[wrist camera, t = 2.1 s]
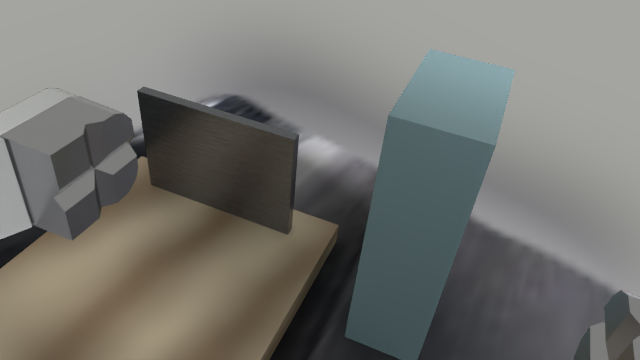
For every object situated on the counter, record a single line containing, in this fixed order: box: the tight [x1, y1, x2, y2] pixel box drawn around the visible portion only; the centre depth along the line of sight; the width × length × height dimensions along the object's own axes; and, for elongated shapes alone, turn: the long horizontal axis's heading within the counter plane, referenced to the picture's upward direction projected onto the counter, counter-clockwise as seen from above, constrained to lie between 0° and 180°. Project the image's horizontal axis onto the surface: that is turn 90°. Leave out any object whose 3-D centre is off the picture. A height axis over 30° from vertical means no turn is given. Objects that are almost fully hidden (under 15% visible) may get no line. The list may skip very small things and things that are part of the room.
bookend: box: [137, 87, 299, 235], centre depth 31 cm, size 10×2×7 cm, turn 67°
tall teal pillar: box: [344, 49, 515, 360], centre depth 26 cm, size 4×7×14 cm, turn 157°
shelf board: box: [0, 156, 339, 360], centre depth 27 cm, size 15×20×2 cm
